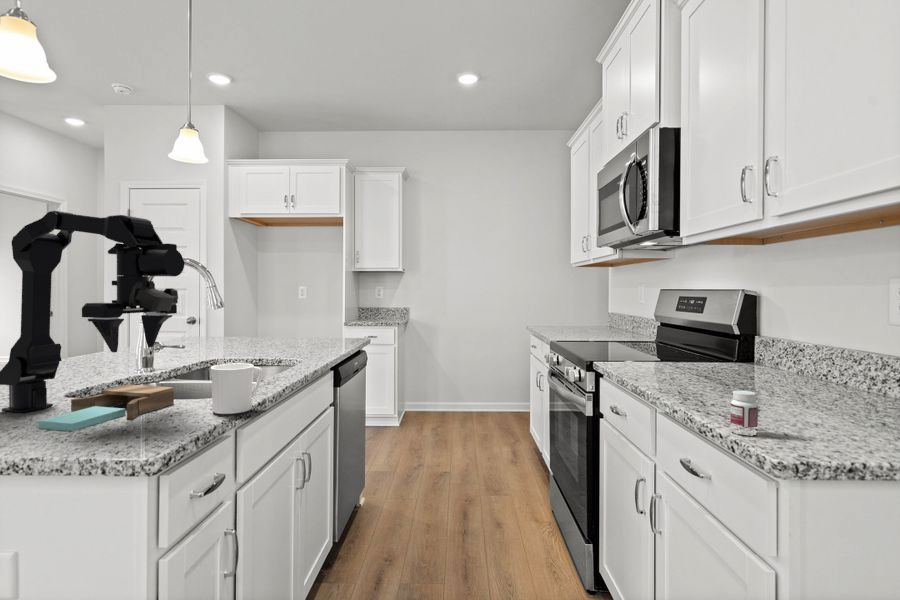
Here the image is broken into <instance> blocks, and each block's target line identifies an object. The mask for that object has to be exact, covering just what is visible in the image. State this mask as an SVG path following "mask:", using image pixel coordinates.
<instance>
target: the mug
mask: <svg viewBox="0 0 900 600" xmlns="http://www.w3.org/2000/svg"><path fill="white" fill-rule="evenodd" d="M254 370H257V371H258V373H259V374H258V377H257V380H256V383H255V386H254V388H253V378H254ZM210 375H211V392H212V393H211V395H212V398H211V399H212V400H211V401H212V414H213V415H215V416H216V415H217V416H218V417H237V416H242V415H246V414H249V413H251V411H253V409H252V408H253V407H252V405H253V398H254V397H255V396H256V394H257V392H258V389H259V387H260V384H261V382H262V378H263V375H264V370H263V369H262V367H259V366H254V364H252V363H245V362H244V363H234V362H233V363H223V364H217V365H212V366H210Z"/></svg>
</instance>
